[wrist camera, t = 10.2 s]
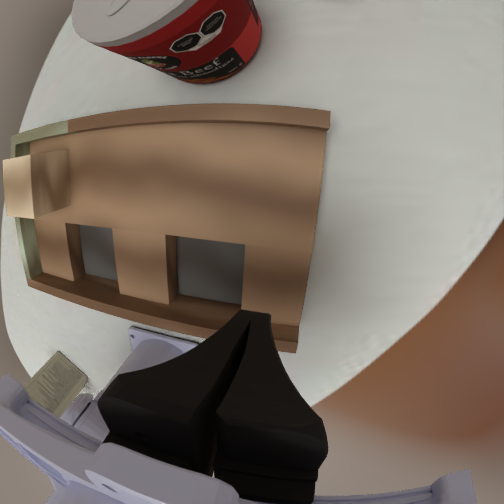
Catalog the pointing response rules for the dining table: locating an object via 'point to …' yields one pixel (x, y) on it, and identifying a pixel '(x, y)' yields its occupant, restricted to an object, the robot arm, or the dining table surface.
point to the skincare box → (56, 384)
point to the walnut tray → (182, 214)
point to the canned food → (174, 34)
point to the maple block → (36, 184)
